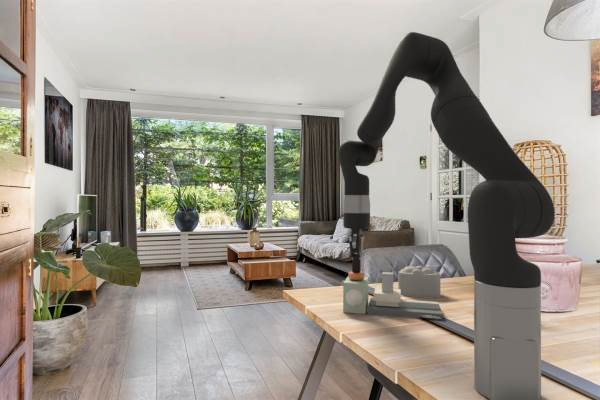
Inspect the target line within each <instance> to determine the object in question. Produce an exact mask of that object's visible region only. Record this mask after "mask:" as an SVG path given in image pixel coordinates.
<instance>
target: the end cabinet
mask: <svg viewBox="0 0 600 400" xmlns="http://www.w3.org/2000/svg"><path fill="white" fill-rule="evenodd" d="M342 284H343V288H342V290H343V292H342V293H343V295H342V297H343V301H342V306H343V307H342V309H343V310H342V312H343V313H347V314H348V313H352V314H364V315H366V313H367V308H368V305H369V285H370V284H369V276H364V279H362V280H360V281H352V279H349V275H348V276H347V277H346V278H345V280H344V281H343V283H342Z"/></svg>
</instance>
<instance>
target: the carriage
mask: <svg viewBox="0 0 600 400" xmlns="http://www.w3.org/2000/svg"><path fill="white" fill-rule="evenodd" d="M401 296H402V295H401V289H398V288H394V272H389V271H388V272H387V271H382V273H381V287H375V289H374V292H373V298H374V301H376V305H378V306H392V307H399V302H400V303H401V300H402V299H401Z"/></svg>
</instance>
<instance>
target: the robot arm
mask: <svg viewBox="0 0 600 400" xmlns="http://www.w3.org/2000/svg"><path fill="white" fill-rule="evenodd" d="M406 77H407V78H411V79H415V80H418V81H421V82H424V83H425V84H427V85H428V87H430V89H431V91H432V92H433V95H435V96H434V98H433V102H432V105H431V109H430V118H431V122H432V124H433V127H434V129H435V131H436V132H437V136H438V137H439V139H440V140H441V142H442V143H443V145H444V146H445V148H446V149H447V150H449V151H450V152H451V153H452V154H453V155H454V156H456V157H457V158H458V159H460V160H461V161H463V163H465V164H466V165H468V166H469V167H471V168H472V169H473V170H475V171H476V172H477V173H478V174H480V176H481V177H482V178H483V181H481V182H479V183H478V184H477V185H475V186H474V188H473V189H472V191H471V193H470V195H469V199H468V202H467V204H468V205H467V228H468V245H469V246H468V247H469V258H470V261H471V262H470V263H471V266H472V268H473V273H474V274H473V275H474V276H473V281H474V282H473V283H474V284H473V286H474V287H473V289H474V291H473V292H474V296H473V327H474V328H473V342H474V343H473V356H474V357H473V362H474V363H473V364H474V365H473V366H474V367H473V370H474V372H473V376H474V377H473V379H474V381H473V385H474V389H476V391H477V392H478V393H480V394H481V395H482V396H483V397H486V398H487V399H489V400H542V310H541V308H542V273H541V269H540V267H539V266H538V265H537V264H535V263H533V262H530V261H527V260H526V259H524V258H522V256H520V254H518V253H519V252H518V251H517V245H516V239H531V238H537V237H540V236H543V235H545V234H546V233H548V232H549V231H550V230H551V229H552V226H553V225H554V222H555V206H554V202H553V199H552V196H551V195H550V193H549V191H548V190H547V188H546V187H545V186H544V184H543V183H542V182H541V181H540V179H538V177H536V175H535V174H534V173H533V171H531V169H530V168H529V167H528V166H527V165H526V163H524V162H523V160H521V158H520V156H518V155H517V154H516V152H515V151H514V150H513V148H512V147H511V145H510V144H509V142H508V141H507V140H506V138H505V137H504V135H503V134H502V132H501V131H500V129H499V128H498V127H497V125H496V123H495V122H494V121H493V120H492V117H491V116H490V114H489V113H488V110H486V108H485V107H484V105H483V103H482V102H481V100H480V99H479V98H478V96H477V95H476V94H475V92H474V91H473V89H472V88H471V86H470V85H469V83H468V82H467V80H466V79H465V77H464V76H463V74H462V73H461V70H460V69H459V66H458V63H457V62H456V59H455V58H454V55H453V53H452V51H451V49H450V48H449V46H448V44H447V43H446V42H445V41H443V39H440V38H437V37H433V36H430V35H426V34H423V33H420V32H416V31H411V32H410V31H409V32H408V33H406V34H404V35H403V36H402V38H400V40H399V41H398V43H397V44H396V47H395V48H394V50H393V53H392V54H391V56H390V60H389V61H388V64H387V67H386V69H385V72H384V75H383V77H382V78H381V79H382V80H381V81H380V84H379V88H378V90H377V91H376V95H375V97H374V99H373V101H372V103H371V106H370V107H369V109H368V110H367V112H366V114H365V116H364V117H363V119H362V121H361V122H360V124H359V126H358V128H357V132H356V134H357V135H356V136H357V138H358V139H359V141H358V140H344V141H343V142H342V143H341V144H340V146H339V148H338V153H337V154H338V155H337V156H338V160H339V166H340V168H341V173H342V176H343V180H344V181H343V182H344V189H343V190H344V193H343V194H344V197H343V206H342V207H343V209H342V212H343V216H342V217H343V220H342V221H343V222H342V223H343V226H342V227H343V228H344V229H350V230H351V234H349V235H348V241H349V243H348V245H349V252H350V259H351V261H352V263H351V265H352V266H351V271H352V272H353V273H360V272H362V270H361V267H362V263H361V261H362V260H361V259H362V258H363V257H362V256H363V250H364V241H365V234H363V232H362V230H364V229H365V230H367V229H368V230H369V228H371V199H370V178H369V176H368V175H366V174H363V173H360V172H359V171H358V169H357V167H368V166H371V165H372V164H373V163H374V162H375V160H376V158H377V155H378V151H379V148H380V145H381V142H382V139H383V138H384V137H385V135H386V134H387V133H388V131H389V129H390V128H391V127H392V125H393V122H394V120H395V117H396V94H397V89H399V88H398V87H399V85H400V84H401V82H402V81H403V79H405V78H406Z"/></svg>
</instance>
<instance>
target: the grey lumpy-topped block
mask: <svg viewBox="0 0 600 400" xmlns="http://www.w3.org/2000/svg"><path fill="white" fill-rule="evenodd" d="M397 275H398V276H397V277H398V279H397V281H398V282H397V283H398V286H397V287H398V288H397V289H401V296H407V297H414V298H427V299H428V298H438V297H441V273H440V272H438V271H435V270H434V269H433V268H432V267H428V266H427V267H424V266H423V265H417V266H412V265H411V266H409V265H408V266H405V267H404V268H402V269H400V270H399V271H398V274H397Z"/></svg>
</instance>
